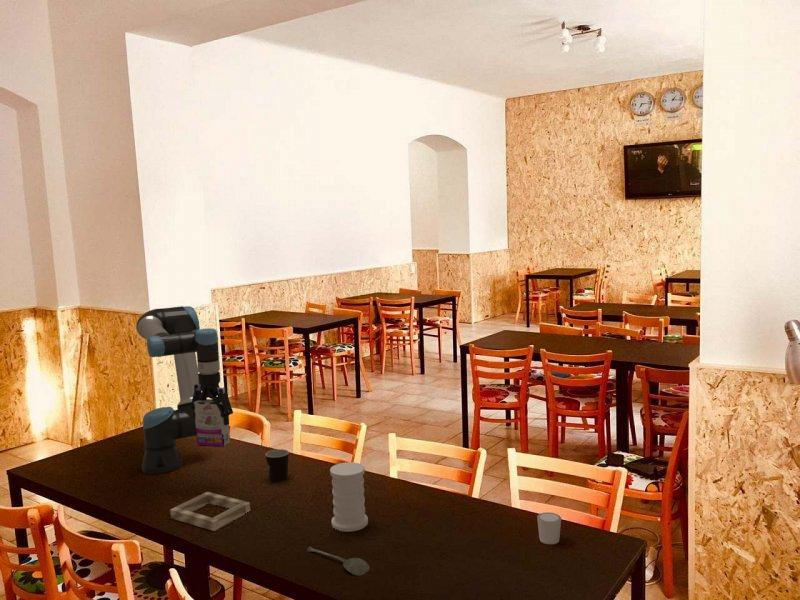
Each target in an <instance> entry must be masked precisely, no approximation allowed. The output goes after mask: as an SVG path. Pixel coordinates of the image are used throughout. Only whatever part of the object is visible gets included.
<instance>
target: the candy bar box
mask: <svg viewBox="0 0 800 600" xmlns="http://www.w3.org/2000/svg"><path fill="white" fill-rule="evenodd" d="M219 404H220V405H221V406H222V402H220V403H219ZM194 411H195V424H196V436H195V437H196V446H197V447H209V448H210V447H215V448H225V447H227V446H228V445H230V444H231V433H230V431H231V430H230V429H229V432H228V433H226V434H224V435H223V434H222V430H221V416H222V414H221V412H220V410H219V409H218V407H217V405H216V403H215V401H213V400H212V399H211V398H209V399H208V398H207V399H205V400H202V401H201V400H198V401H196V402H194ZM224 413H225V412H224ZM228 426H229V427H230V423H229V424H228Z"/></svg>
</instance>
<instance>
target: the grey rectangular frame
mask: <svg viewBox="0 0 800 600" xmlns="http://www.w3.org/2000/svg"><path fill="white" fill-rule="evenodd" d="M206 504H207V505H213V506H216V505H217V507H220V506H221V507H220V508H224V507H225V508H224V509H226V510H225V511H223V512H221V513H220V514H218V515H215V516H213V517H210V516H207V515H203V514H201V513H197V512H195V511H197V510H199V509H201V508H203V507H204V506H207V505H206ZM227 508H229V509H227ZM169 511H170V518H171V519H172V520H176V521H179V522H183V523H185V524H190V525H191V526H195V527H199V528H202V529H206V530H209V531H213V532H215V531H218V530H219V529H221V528H222V527H224V526H226V525H228V524H230V523H232V522H233V520H234V521H235V520H237V519H239V518H241V517H243V516H244V515H246V514H248V513H249V511H250V512H251V502H249V501H245V500H243V499H242V500H241V499H239V498H234V497H230V496H225V495H223V494H222V495H221V494H217V493H214V492H210V491H206V492H203V493H202V494H200V495H197V496H195V497H193V498H192V499H190V500H188V501H185V502H183V503H181V504H178V505H176V506H175V507H173V508H171V509H170V510H169ZM247 512H248V513H247ZM245 513H246V514H245Z"/></svg>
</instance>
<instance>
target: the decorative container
mask: <svg viewBox="0 0 800 600" xmlns="http://www.w3.org/2000/svg"><path fill="white" fill-rule="evenodd" d="M329 469H330V470H329V474H330V476H331V477H332V479H331V485H332V490H331V491H332V492H331V493H332V496H333V499H332V504H333V509H332V510H333V511H332V513H333V515H334V516H333V517H332V518H331V519H330V520H331V528H332V529H334V528H335V529H334V530H336V529H337V530H336V531H338V530H339V532H343V533H344V532H345V533H346V532H347V533H348V532H349V533H350V532H356V531H360V530H363V529H364V528H366V527H367V526H368V524H369V518H368V515H367V514H366V507H365V502H366V498H365V487H364V484H365V483H364V482H365V479H364V474H365V472H366V469H365V465H363V464H361V463H359V462H353V461H352V462H340V463H337V464H334V465H332V466H331V467H330V468H329Z"/></svg>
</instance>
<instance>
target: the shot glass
mask: <svg viewBox="0 0 800 600" xmlns="http://www.w3.org/2000/svg"><path fill="white" fill-rule="evenodd" d="M536 518H537V527H538V536H539V540H540V542H541V543H543V544H546V545H557V544H558V543H559V542H560V535H561V525H562V517H561V515H559V513H555V512H541V513H539V514H538V515H537V516H536Z"/></svg>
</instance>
